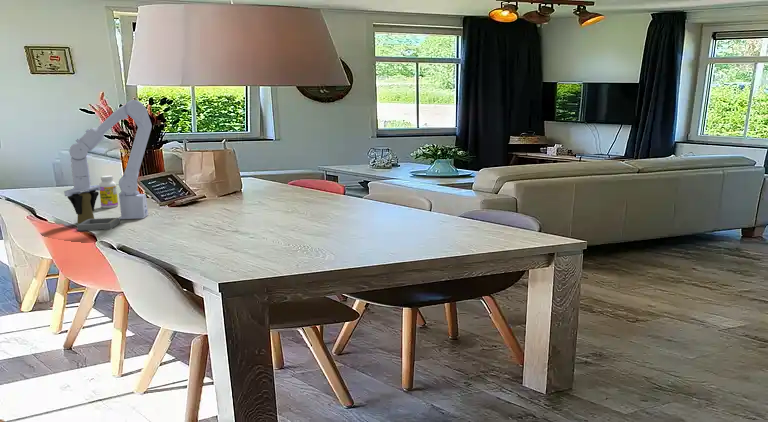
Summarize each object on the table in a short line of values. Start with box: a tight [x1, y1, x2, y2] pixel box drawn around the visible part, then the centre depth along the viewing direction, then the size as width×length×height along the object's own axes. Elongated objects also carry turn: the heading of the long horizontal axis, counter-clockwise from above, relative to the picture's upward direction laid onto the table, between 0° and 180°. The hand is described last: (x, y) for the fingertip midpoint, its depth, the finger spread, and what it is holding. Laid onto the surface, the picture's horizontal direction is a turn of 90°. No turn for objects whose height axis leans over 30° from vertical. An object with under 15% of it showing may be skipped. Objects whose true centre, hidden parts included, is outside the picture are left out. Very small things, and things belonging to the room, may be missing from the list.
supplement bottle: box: [98, 175, 119, 209], centre depth 285 cm, size 7×7×13 cm
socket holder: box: [77, 217, 121, 232], centre depth 245 cm, size 11×11×2 cm
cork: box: [77, 191, 95, 224], centre depth 254 cm, size 6×6×11 cm
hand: (85, 212), depth 255 cm, fingers closed on cork, 5 cm apart
